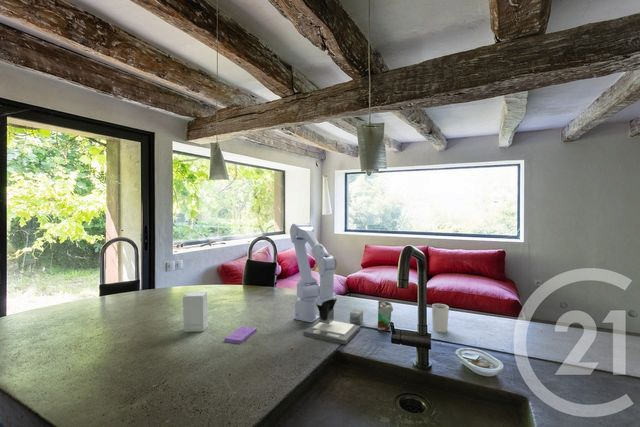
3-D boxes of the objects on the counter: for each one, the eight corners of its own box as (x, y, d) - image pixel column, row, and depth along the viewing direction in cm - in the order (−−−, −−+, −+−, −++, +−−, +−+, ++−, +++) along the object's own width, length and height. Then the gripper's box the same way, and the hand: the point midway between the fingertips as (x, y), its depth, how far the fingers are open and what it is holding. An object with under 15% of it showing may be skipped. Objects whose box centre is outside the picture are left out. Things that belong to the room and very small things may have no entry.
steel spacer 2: (349, 323, 136) (350, 312, 136) (353, 320, 140) (353, 309, 140) (359, 325, 134) (359, 313, 134) (362, 321, 138) (363, 310, 138)
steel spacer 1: (319, 322, 127) (319, 310, 127) (323, 318, 131) (324, 307, 131) (329, 324, 125) (329, 311, 125) (333, 320, 129) (333, 308, 129)
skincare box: (208, 326, 130) (208, 291, 130) (203, 332, 124) (203, 295, 124) (188, 326, 129) (188, 291, 129) (182, 332, 123) (182, 295, 123)
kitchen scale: (303, 335, 122) (303, 330, 122) (321, 321, 137) (321, 317, 137) (345, 344, 114) (345, 339, 114) (359, 329, 129) (359, 324, 129)
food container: (393, 334, 124) (393, 309, 124) (377, 332, 125) (378, 308, 125) (392, 323, 136) (392, 300, 136) (378, 322, 138) (378, 299, 137)
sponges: (224, 342, 116) (224, 337, 116) (241, 330, 128) (241, 325, 128) (240, 345, 114) (240, 340, 114) (256, 332, 126) (257, 327, 126)
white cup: (450, 333, 126) (450, 309, 125) (432, 332, 127) (433, 307, 127) (446, 327, 132) (447, 304, 132) (430, 326, 133) (430, 303, 133)
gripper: (328, 290, 120) (327, 325, 120) (342, 282, 133) (341, 314, 133) (312, 288, 123) (311, 322, 123) (327, 281, 136) (327, 311, 136)
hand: (326, 317), depth 128 cm, fingers closed on steel spacer 1, 4 cm apart
